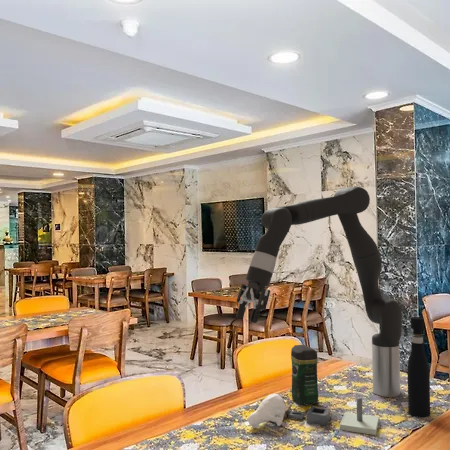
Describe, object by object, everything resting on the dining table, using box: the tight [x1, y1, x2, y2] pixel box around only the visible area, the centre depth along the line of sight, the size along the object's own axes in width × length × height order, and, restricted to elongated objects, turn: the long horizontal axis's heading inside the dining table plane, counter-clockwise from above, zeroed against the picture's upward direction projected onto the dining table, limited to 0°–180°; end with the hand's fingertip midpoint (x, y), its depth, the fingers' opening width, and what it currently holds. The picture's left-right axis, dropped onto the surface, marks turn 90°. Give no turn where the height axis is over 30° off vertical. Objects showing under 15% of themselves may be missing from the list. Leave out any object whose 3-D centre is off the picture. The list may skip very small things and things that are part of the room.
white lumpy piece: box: [247, 393, 286, 430], centre depth 139 cm, size 6×8×12 cm
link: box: [306, 405, 332, 427], centre depth 142 cm, size 6×6×3 cm
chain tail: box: [283, 404, 306, 421], centre depth 145 cm, size 5×8×2 cm, turn 66°
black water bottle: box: [406, 316, 431, 419], centre depth 146 cm, size 6×6×30 cm
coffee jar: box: [290, 344, 319, 406], centre depth 159 cm, size 10×8×19 cm
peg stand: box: [339, 397, 380, 436], centre depth 138 cm, size 10×10×8 cm
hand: (245, 319), depth 140 cm, fingers open, 8 cm apart
